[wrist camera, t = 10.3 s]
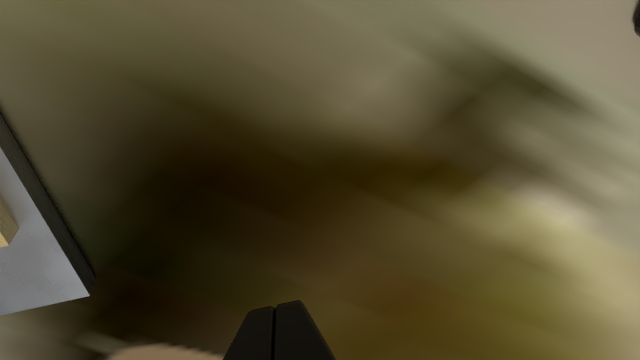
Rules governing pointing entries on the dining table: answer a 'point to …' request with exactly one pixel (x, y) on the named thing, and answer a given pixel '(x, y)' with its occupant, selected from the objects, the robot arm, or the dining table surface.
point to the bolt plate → (34, 239)
